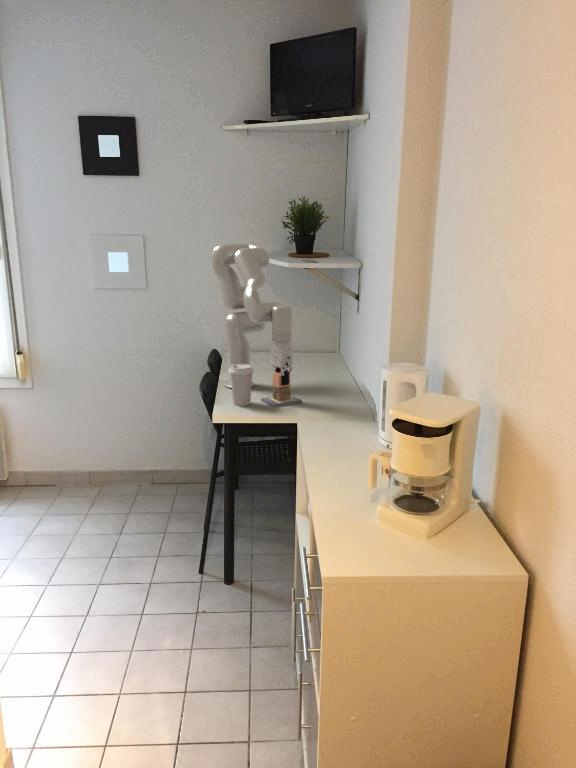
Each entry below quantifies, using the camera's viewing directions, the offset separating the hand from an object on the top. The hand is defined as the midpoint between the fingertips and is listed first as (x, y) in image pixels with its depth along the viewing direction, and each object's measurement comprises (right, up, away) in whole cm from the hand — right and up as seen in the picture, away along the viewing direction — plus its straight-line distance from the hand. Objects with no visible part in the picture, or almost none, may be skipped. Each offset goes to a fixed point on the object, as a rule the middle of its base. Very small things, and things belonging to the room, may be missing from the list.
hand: (281, 382), depth 256 cm
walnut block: (0, -6, +2) cm, 7 cm away
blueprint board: (0, -7, +2) cm, 8 cm away
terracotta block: (0, -1, 0) cm, 1 cm away
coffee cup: (-16, -8, -1) cm, 18 cm away
